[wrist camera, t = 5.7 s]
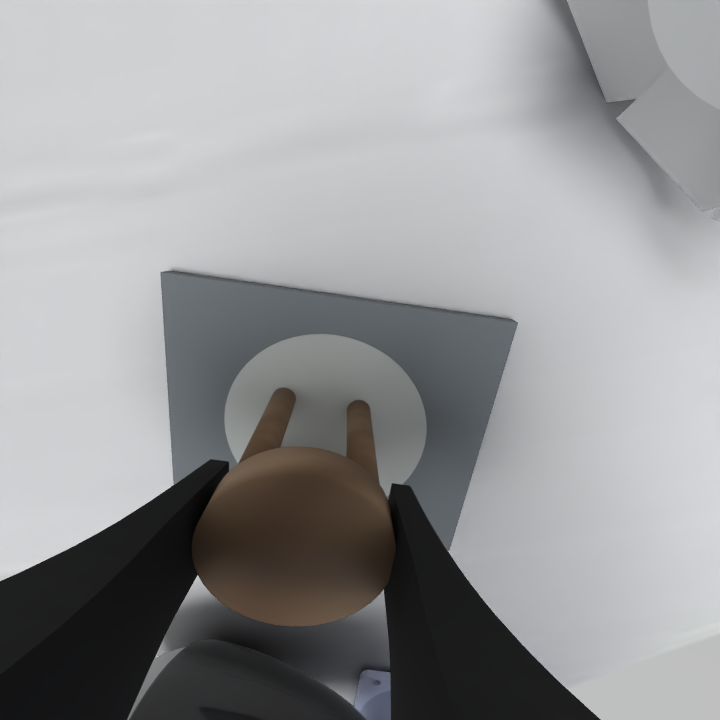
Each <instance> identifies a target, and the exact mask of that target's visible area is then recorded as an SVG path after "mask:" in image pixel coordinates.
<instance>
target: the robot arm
mask: <svg viewBox="0 0 720 720" xmlns="http://www.w3.org/2000/svg"><path fill="white" fill-rule="evenodd" d="M228 472H229V461H221V460H214V459H210V460H209V461H207V462H206V463H204V464H203V465H202V466H200V467H199V468H197V469H196V470H194V471H193V472H192V473H190V474H189V475H187V476H186V477H185V478H183V479H182V480H180V481H179V482H178V483H176V484H175V485H173V486H172V487H170V488H169V489H168V490H166V491H165V492H163V493H162V494H160V495H159V496H157V497H156V498H154V499H153V500H152V501H150V502H148V503H147V504H145V505H144V506H142V507H141V508H139V509H137V510H136V511H134V512H133V513H131V514H130V515H128V516H126V517H125V518H123V519H122V520H120V521H118V522H117V523H115V524H113V525H112V526H110V527H108V528H106V529H105V530H103V531H101V532H99V533H98V534H96V535H94V536H92V537H90V538H88V539H87V540H85V541H83V542H81V543H79V544H77V545H76V546H74V547H72V548H70V549H68V550H66V551H64V552H62V553H60V554H58V555H55V556H53V557H51V558H49V559H47V560H45V561H43V562H41V563H39V564H37V565H35V566H33V567H31V568H29V569H26V570H24V571H22V572H20V573H18V574H16V575H14V576H11V577H9V578H7V579H4V580H2V581H0V720H127V719H128V717H129V714H130V712H131V710H132V708H133V705H134V703H135V701H136V698H137V696H138V694H139V692H140V689H141V687H142V685H143V682H144V680H145V678H146V676H147V673H148V671H149V669H150V667H151V665H152V662H153V660H154V658H155V656H156V654H157V651H158V649H159V647H160V645H161V643H162V640H163V638H164V636H165V634H166V632H167V630H168V628H169V626H170V624H171V622H172V620H173V618H174V616H175V614H176V613H177V611H178V609H179V607H180V605H181V604H182V602H183V600H184V598H185V596H186V595H187V593H188V591H189V589H190V587H191V586H192V584H193V582H194V580H195V579H196V577H197V575H198V574H197V571H196V569H195V567H194V563H193V558H192V539H193V534H194V531H195V528H196V525H197V523H198V522H199V520H200V518H201V516H202V514H203V512H204V510H205V508H206V507H207V505H208V503H209V501H210V499H211V497H212V495H213V494H214V492H215V490H216V488H217V486H218V484H219V483H220V482H221V480H222V479H223V478H224V476H225V475H226V474H227V473H228ZM388 502H389V506H390V511H391V517H392V524H393V530H394V537H395V544H396V552H395V556H394V561H393V565H392V569H391V574H390V578H389V581H388V583H387V585H386V586H385V588H384V594H385V605H386V615H387V626H388V637H389V650H390V672H384V671H376V670H364V671H363V672H362V673H361V675H360V680H359V684H358V689H357V693H356V698H355V702H354V707H355V708H356V709H357V710H358V711H359V712H360V713H361V714H362V715H363V716H364V717H365V718H366V719H367V720H600V719H599V718H598V717H597V716H596V715H595V714H594V713H593V712H591V711H590V710H589V709H588V708H587V707H586V706H585V705H584V704H583V703H581V702H580V701H579V700H578V699H577V698H576V697H575V696H574V695H573V694H571V692H569V691H568V690H567V689H566V688H565V687H564V686H563V685H562V684H561V683H560V682H559V681H558V680H557V679H556V678H555V677H554V676H553V675H551V674H550V673H549V672H548V671H547V670H546V669H545V668H544V667H543V666H542V665H541V664H540V663H539V662H538V661H537V660H536V659H535V658H534V657H533V656H532V655H531V654H530V652H529V651H528V650H527V649H526V648H525V647H524V646H523V645H522V644H521V643H520V642H519V641H518V640H517V638H516V637H515V636H514V635H513V634H512V633H511V632H510V631H509V630H508V629H507V627H506V626H505V625H504V624H503V623H502V622H501V621H500V620H499V619H498V617H497V616H496V615H495V614H494V613H493V612H492V610H491V609H490V608H489V607H488V606H487V604H486V603H485V602H484V601H483V599H482V598H481V597H480V596H479V594H478V593H477V592H476V590H475V589H474V588H473V587H472V585H471V584H470V583H469V581H468V580H467V579H466V577H465V576H464V574H463V573H462V572H461V570H460V569H459V567H458V566H457V564H456V563H455V561H454V560H453V558H452V557H451V556H450V554H449V553H448V551H447V549H446V548H445V546H444V545H443V543H442V541H441V540H440V538H439V537H438V535H437V533H436V532H435V530H434V528H433V527H432V525H431V523H430V521H429V520H428V518H427V516H426V514H425V512H424V511H423V509H422V507H421V505H420V503H419V501H418V499H417V497H416V495H415V493H414V491H413V489H412V488H411V486H409V485H402V484H394V483H392V484H391V489H390V494H389V499H388Z"/></svg>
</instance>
